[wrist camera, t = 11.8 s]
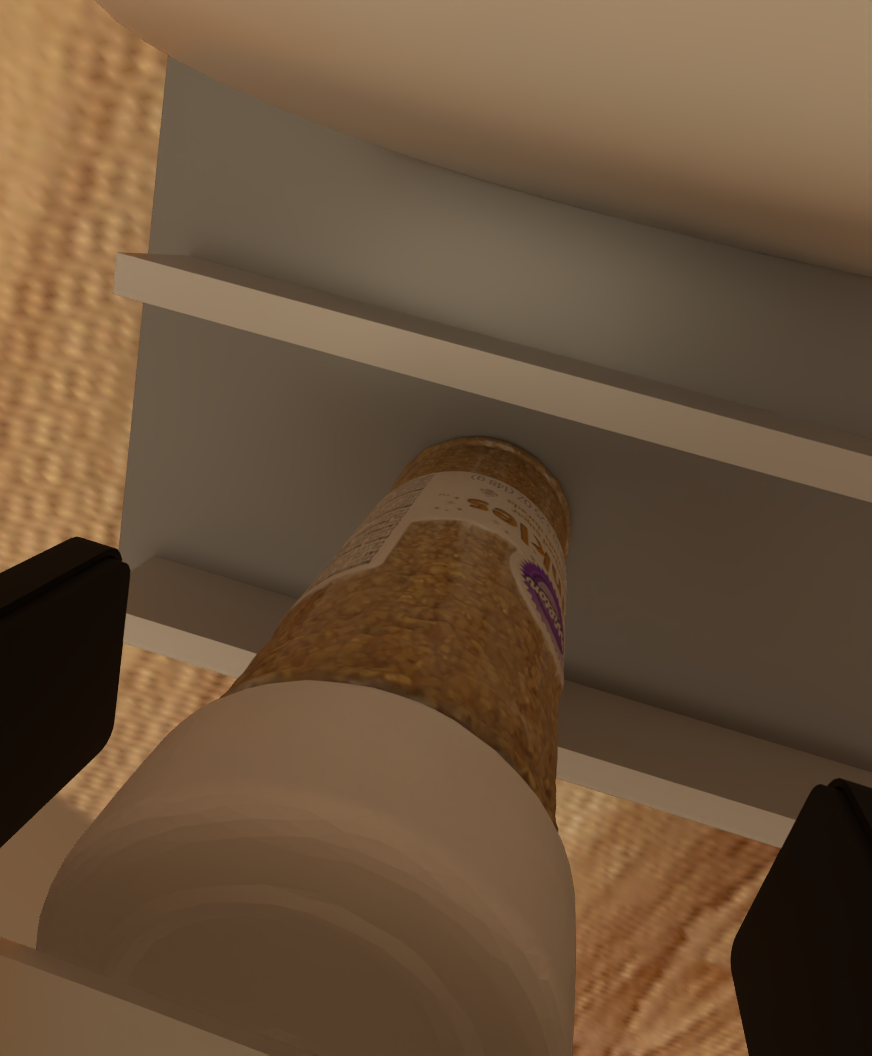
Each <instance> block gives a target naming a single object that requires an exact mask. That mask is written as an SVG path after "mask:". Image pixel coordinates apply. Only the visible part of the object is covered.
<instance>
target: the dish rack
mask: <svg viewBox="0 0 872 1056" xmlns="http://www.w3.org/2000/svg"><path fill="white" fill-rule="evenodd" d="M95 1H96V2H97V3H98V4H99V5H100V6H101V7H102V8H103V9H105V10H106V11H107V12H108V13H109V14H110V15H111V16H112V17H113V18H114V19H115V20H116V21H117V22H119V23H120V24H121V25H123V26H124V27H126V28H127V29H128V30H130V31H131V32H133V33H134V34H135V35H137V36H138V37H140V38H141V39H142V40H144V41H145V42H147V43H149V44H150V45H152V46H154V47H155V48H157V49H159V50H160V51H162V52H164V53H166V54H167V55H168V59H167V69H166V79H165V89H164V99H163V109H162V119H161V129H160V139H159V149H158V160H157V170H156V180H155V190H154V200H153V210H152V220H151V230H150V240H149V250H148V254H142V253H120V252H117V254H116V265H115V277H114V289H113V294H115V295H119V296H122V297H126V298H130V299H133V300H137V301H141V302H143V311H142V321H141V331H140V341H139V351H138V361H137V371H136V381H135V391H134V401H133V412H132V422H131V432H130V442H129V452H128V462H127V472H126V482H125V492H124V502H123V512H122V522H121V533H120V543H119V552H120V553H121V557H122V562H125V563H127V564H128V565H129V567H130V584H129V593H128V602H127V611H126V620H125V629H124V638H123V643H125V644H128V645H131V646H134V647H137V648H141V649H144V650H147V651H150V652H153V653H157V654H160V655H163V656H166V657H169V658H173V659H176V660H179V661H182V662H185V663H189V664H192V665H195V666H198V667H201V668H205V669H208V670H211V671H214V672H218V673H221V674H224V675H227V676H230V677H234V678H237V679H238V677H239V676H240V675H242V674H243V672H244V671H245V670H246V668H247V667H248V665H249V664H250V662H251V661H252V660H253V658H254V657H255V656H256V655H257V654H258V652H259V651H260V650H261V649H262V648H263V647H265V646H266V645H267V643H268V642H269V641H270V640H271V638H272V636H273V634H274V632H275V630H276V628H277V626H278V625H279V623H280V622H281V621H282V619H283V618H284V616H285V615H286V614H287V613H288V611H289V610H290V609H291V608H292V607H293V605H294V604H295V603H296V602H297V600H298V599H299V598H300V597H301V596H302V595H303V593H304V592H305V591H306V590H307V589H308V588H309V586H310V585H311V584H312V583H313V582H314V580H315V579H316V578H317V577H318V576H319V575H320V573H321V572H322V571H323V570H324V569H325V567H326V566H327V565H328V564H329V562H330V561H331V560H332V559H333V558H334V556H335V555H336V554H337V553H338V552H339V550H340V549H341V548H342V547H343V545H344V544H345V543H346V542H347V540H348V539H349V538H350V537H351V536H352V534H353V533H354V532H355V531H356V529H357V528H358V527H359V526H360V525H361V523H362V522H363V521H364V520H365V519H366V517H367V516H368V515H369V514H370V512H371V511H372V510H373V509H374V508H375V507H376V505H377V504H378V503H379V502H380V501H381V500H382V499H383V498H385V497H386V496H387V495H388V494H389V493H390V491H391V488H392V486H393V484H394V482H395V481H396V479H397V478H398V476H399V475H400V473H401V472H402V471H403V470H404V468H405V467H406V466H407V465H408V464H409V463H410V462H412V461H413V460H414V459H416V458H417V457H418V456H419V455H420V454H421V453H422V452H423V451H424V450H425V449H427V448H429V447H432V446H435V445H438V444H440V443H443V442H446V441H449V440H453V439H457V438H470V437H487V438H492V439H497V440H502V441H507V442H509V443H511V444H512V445H514V446H516V447H518V448H520V449H522V450H524V451H525V452H527V453H528V454H530V455H532V456H533V457H535V458H536V459H538V460H539V461H540V462H541V463H542V464H543V465H544V466H545V467H546V468H547V469H548V471H549V472H550V473H551V474H552V475H553V477H554V478H555V479H556V480H557V481H558V483H559V484H560V487H561V490H562V493H563V494H564V496H565V499H566V501H567V504H568V508H569V517H570V527H571V538H570V544H569V551H568V555H567V558H566V561H565V565H566V572H567V597H566V619H565V654H564V684H563V691H562V693H561V696H560V698H559V703H558V754H557V756H558V760H557V770H556V772H557V775H556V778H557V779H561V780H564V781H567V782H570V783H573V784H577V785H580V786H583V787H586V788H589V789H593V790H596V791H599V792H602V793H605V794H609V795H612V796H615V797H618V798H621V799H625V800H628V801H631V802H634V803H637V804H641V805H644V806H647V807H650V808H654V809H657V810H660V811H663V812H666V813H670V814H673V815H676V816H679V817H682V818H686V819H689V820H692V821H695V822H698V823H702V824H705V825H708V826H711V827H714V828H718V829H721V830H724V831H727V832H730V833H734V834H737V835H740V836H743V837H746V838H750V839H753V840H756V841H759V842H762V843H766V844H769V845H772V846H775V847H779V848H782V846H783V844H784V842H785V840H786V838H787V836H788V834H789V832H790V830H791V828H792V826H793V824H794V823H795V821H796V819H797V817H798V815H799V813H800V811H801V809H802V807H803V805H804V803H805V801H806V799H807V797H808V796H809V794H810V792H811V791H812V789H813V788H814V787H815V786H816V785H819V784H822V785H826V786H828V784H829V783H830V782H831V781H833V780H834V779H837V778H842V779H845V780H848V781H851V782H854V783H857V784H861V785H864V786H867V787H870V788H872V0H95Z"/></svg>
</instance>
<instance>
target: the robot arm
mask: <svg viewBox="0 0 872 1056" xmlns="http://www.w3.org/2000/svg"><path fill="white" fill-rule="evenodd" d="M129 584H130V567H129V565H128V564H127V563H125V562H122V557H121V553H120V552H119V551H118V549H116V548H112V547H109V546H106V545H103V544H100V543H97V542H94V541H90V540H87V539H84V538H81V537H74V538H70V539H68V540H66V541H64V542H62V543H60V544H58V545H56V546H54V547H52V548H50V549H48V550H46V551H44V552H42V553H40V554H38V555H36V556H34V557H32V558H30V559H28V560H26V561H24V562H22V563H20V564H18V565H16V566H14V567H12V568H10V569H8V570H6V571H4V572H2V573H0V848H1V847H2V846H3V845H4V844H5V843H6V842H7V841H8V840H9V839H10V838H11V837H12V836H13V835H14V834H15V833H16V832H17V831H18V830H19V829H20V828H22V827H23V826H24V825H25V824H26V823H27V822H28V821H29V820H30V819H31V818H32V817H33V816H34V815H35V814H36V813H37V812H38V811H39V810H40V809H41V808H42V807H43V806H44V805H45V804H46V803H48V802H49V801H50V800H51V799H52V798H53V797H54V796H55V795H56V794H57V793H58V792H59V791H60V790H61V789H62V788H63V787H64V786H65V785H66V784H67V783H68V782H69V781H70V780H71V779H72V778H74V777H75V776H76V775H77V774H78V773H79V772H80V771H81V770H82V769H83V768H84V767H85V766H86V765H87V764H88V763H89V762H90V761H91V760H92V759H93V758H94V757H95V756H96V755H97V754H98V753H100V751H101V750H102V749H103V748H104V746H105V745H106V743H107V742H108V740H109V738H110V736H111V733H112V730H113V726H114V720H115V711H116V702H117V693H118V684H119V675H120V665H121V656H122V647H123V638H124V629H125V620H126V611H127V602H128V593H129ZM731 972H732V976H733V981H734V986H735V991H736V996H737V1000H738V1005H739V1010H740V1015H741V1019H742V1024H743V1029H744V1034H745V1039H746V1043H747V1048H748V1053H749V1056H872V788H870V787H867V786H864V785H861V784H857V783H854V782H851V781H848V780H845V779H842V778H837V779H834V780H833V781H831V782H830V783H829V784H828V786H826V785H822V784H819V785H816V786H815V787H814V788H813V789H812V791H811V792H810V794H809V796H808V797H807V799H806V801H805V803H804V805H803V807H802V809H801V811H800V813H799V815H798V817H797V819H796V821H795V823H794V824H793V826H792V828H791V830H790V832H789V834H788V836H787V838H786V840H785V842H784V844H783V846H782V848H781V850H780V852H779V853H778V855H777V857H776V859H775V861H774V863H773V865H772V867H771V869H770V871H769V873H768V875H767V877H766V879H765V881H764V882H763V884H762V886H761V888H760V890H759V892H758V894H757V896H756V898H755V900H754V902H753V904H752V906H751V908H750V909H749V911H748V913H747V915H746V917H745V919H744V921H743V923H742V925H741V927H740V929H739V931H738V933H737V935H736V937H735V939H734V942H733V946H732V951H731ZM0 1056H318V1055H316V1054H313V1053H310V1052H308V1051H305V1050H302V1049H300V1048H297V1047H294V1046H292V1045H289V1044H286V1043H284V1042H281V1041H279V1040H276V1039H273V1038H271V1037H268V1036H265V1035H263V1034H260V1033H257V1032H255V1031H252V1030H249V1029H247V1028H244V1027H241V1026H239V1025H236V1024H233V1023H231V1022H228V1021H226V1020H223V1019H220V1018H218V1017H215V1016H212V1015H210V1014H207V1013H204V1012H202V1011H199V1010H196V1009H194V1008H191V1007H188V1006H186V1005H183V1004H181V1003H178V1002H175V1001H173V1000H170V999H167V998H165V997H162V996H159V995H157V994H154V993H151V992H148V991H146V990H143V989H140V988H138V987H135V986H132V985H130V984H127V983H124V982H122V981H119V980H116V979H113V978H111V977H108V976H105V975H103V974H100V973H97V972H95V971H92V970H89V969H87V968H84V967H81V966H79V965H76V964H73V963H70V962H68V961H65V960H62V959H60V958H57V957H54V956H52V955H49V954H46V953H44V952H41V951H38V950H35V949H33V948H30V947H27V946H25V945H22V944H19V943H16V942H14V941H11V940H8V939H6V938H3V937H0Z"/></svg>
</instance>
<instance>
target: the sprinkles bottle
mask: <svg viewBox="0 0 872 1056" xmlns="http://www.w3.org/2000/svg"><path fill="white" fill-rule="evenodd" d="M570 538H571V527H570V517H569V508H568V504H567V501H566V499H565V496H564V494H563V493H562V490H561V487H560V484H559V483H558V481H557V480H556V479H555V478H554V477H553V475H552V474H551V473H550V472H549V471H548V469H547V468H546V467H545V466H544V465H543V464H542V463H541V462H540V461H539V460H538V459H536V458H535V457H533V456H532V455H530V454H528V453H527V452H525V451H524V450H522V449H520V448H518V447H516V446H514V445H512V444H511V443H509V442H507V441H502V440H497V439H492V438H487V437H470V438H457V439H453V440H449V441H446V442H443V443H440V444H438V445H435V446H432V447H429V448H427V449H425V450H424V451H423V452H422V453H421V454H420V455H419V456H418V457H417V458H416V459H414V460H413V461H412V462H410V463H409V464H408V465H407V466H406V467H405V468H404V470H403V471H402V472H401V473H400V475H399V476H398V478H397V479H396V481H395V482H394V484H393V486H392V488H391V491H390V493H389V494H388V495H387V496H386V497H385V498H383V499H382V500H381V501H380V502H379V503H378V504H377V505H376V507H375V508H374V509H373V510H372V511H371V512H370V514H369V515H368V516H367V517H366V519H365V520H364V521H363V522H362V523H361V525H360V526H359V527H358V528H357V529H356V531H355V532H354V533H353V534H352V536H351V537H350V538H349V539H348V540H347V542H346V543H345V544H344V545H343V547H342V548H341V549H340V550H339V552H338V553H337V554H336V555H335V556H334V558H333V559H332V560H331V561H330V562H329V564H328V565H327V566H326V567H325V569H324V570H323V571H322V572H321V573H320V575H319V576H318V577H317V578H316V579H315V580H314V582H313V583H312V584H311V585H310V586H309V588H308V589H307V590H306V591H305V592H304V593H303V595H302V596H301V597H300V598H299V599H298V600H297V602H296V603H295V604H294V605H293V607H292V608H291V609H290V610H289V611H288V613H287V614H286V615H285V616H284V618H283V619H282V621H281V622H280V623H279V625H278V626H277V628H276V630H275V632H274V634H273V636H272V638H271V640H270V641H269V642H268V643H267V645H266V646H265V647H263V648H262V649H261V650H260V651H259V652H258V654H257V655H256V656H255V657H254V658H253V660H252V661H251V662H250V664H249V665H248V667H247V668H246V670H245V671H244V672H243V674H242V675H240V676H239V677H238V679H237V680H236V681H235V682H234V684H233V685H232V686H231V688H230V689H229V690H228V691H227V692H226V693H225V694H224V695H222V696H221V697H220V698H219V699H217V700H215V701H213V702H211V703H209V704H208V705H206V706H204V707H203V708H201V709H199V710H198V711H196V712H194V713H193V714H192V715H190V716H189V717H188V718H187V719H185V720H184V721H183V722H182V723H180V724H179V725H178V726H177V727H176V728H175V729H173V730H172V731H171V732H170V733H169V734H168V735H167V736H166V737H165V738H164V739H163V740H162V742H161V743H160V744H159V745H158V746H157V747H156V748H155V750H154V751H153V752H152V753H151V754H150V755H149V756H148V757H147V759H146V760H145V761H144V762H143V763H142V764H141V765H140V767H139V768H138V769H137V770H136V771H135V772H134V774H133V775H132V776H131V777H130V778H129V779H128V781H127V782H126V783H125V784H124V785H123V786H122V788H121V789H120V790H119V791H118V792H117V794H116V795H115V796H114V797H113V798H112V800H111V801H110V802H109V803H108V805H107V806H106V807H105V808H104V809H103V811H102V812H101V813H100V814H99V816H98V817H97V818H96V819H95V820H94V822H93V823H92V824H91V825H90V827H89V828H88V829H87V830H86V832H85V833H84V834H83V835H82V836H81V838H80V839H79V840H78V841H77V843H76V844H75V845H74V847H73V849H72V850H71V851H70V853H69V854H68V855H67V857H66V858H65V860H64V862H63V864H62V865H61V868H60V869H59V871H58V873H57V875H56V877H55V879H54V880H53V882H52V884H51V886H50V889H49V892H48V895H47V897H46V900H45V903H44V906H43V909H42V912H41V915H40V920H39V926H38V934H37V944H36V950H38V951H41V952H44V953H46V954H49V955H52V956H54V957H57V958H60V959H62V960H65V961H68V962H70V963H73V964H76V965H79V966H81V967H84V968H87V969H89V970H92V971H95V972H97V973H100V974H103V975H105V976H108V977H111V978H113V979H116V980H119V981H122V982H124V983H127V984H130V985H132V986H135V987H138V988H140V989H143V990H146V991H148V992H151V993H154V994H157V995H159V996H162V997H165V998H167V999H170V1000H173V1001H175V1002H178V1003H181V1004H183V1005H186V1006H188V1007H191V1008H194V1009H196V1010H199V1011H202V1012H204V1013H207V1014H210V1015H212V1016H215V1017H218V1018H220V1019H223V1020H226V1021H228V1022H231V1023H233V1024H236V1025H239V1026H241V1027H244V1028H247V1029H249V1030H252V1031H255V1032H257V1033H260V1034H263V1035H265V1036H268V1037H271V1038H273V1039H276V1040H279V1041H281V1042H284V1043H286V1044H289V1045H292V1046H294V1047H297V1048H300V1049H302V1050H305V1051H308V1052H310V1053H313V1054H316V1055H318V1056H572V1054H573V1031H574V1003H575V973H576V924H575V893H574V887H573V881H572V875H571V870H570V865H569V861H568V858H567V855H566V852H565V849H564V846H563V843H562V841H561V838H560V836H559V834H558V827H557V824H556V819H555V811H556V784H555V780H556V775H557V772H556V770H557V760H558V756H557V754H558V703H559V698H560V696H561V693H562V691H563V684H564V654H565V619H566V597H567V572H566V565H565V561H566V558H567V555H568V551H569V544H570Z"/></svg>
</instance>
